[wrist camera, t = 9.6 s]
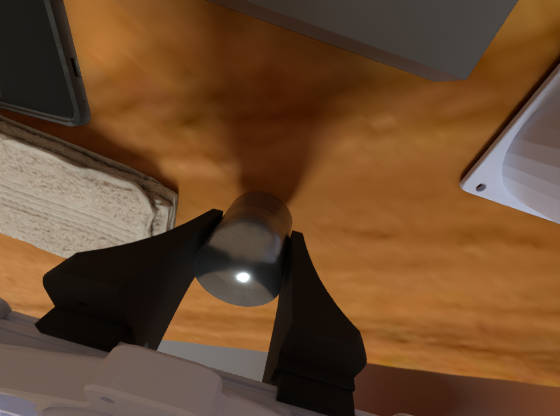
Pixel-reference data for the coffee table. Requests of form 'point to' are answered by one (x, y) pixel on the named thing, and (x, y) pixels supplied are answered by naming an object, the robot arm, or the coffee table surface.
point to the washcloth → (74, 195)
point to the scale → (393, 29)
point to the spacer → (246, 251)
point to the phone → (40, 63)
